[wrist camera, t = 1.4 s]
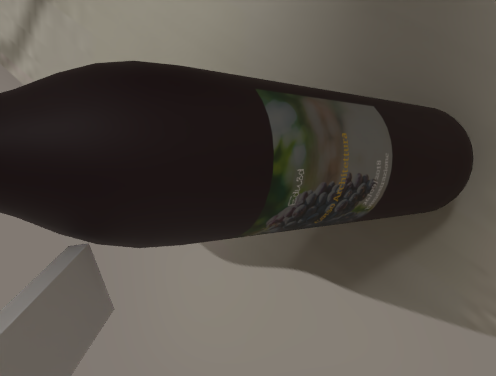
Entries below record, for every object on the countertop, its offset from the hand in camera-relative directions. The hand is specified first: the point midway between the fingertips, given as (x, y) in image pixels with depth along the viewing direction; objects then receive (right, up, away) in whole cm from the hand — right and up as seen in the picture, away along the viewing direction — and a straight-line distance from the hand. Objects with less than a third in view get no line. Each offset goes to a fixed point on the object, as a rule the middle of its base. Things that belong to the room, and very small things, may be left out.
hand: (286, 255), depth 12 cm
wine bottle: (+11, +4, +14) cm, 18 cm away
